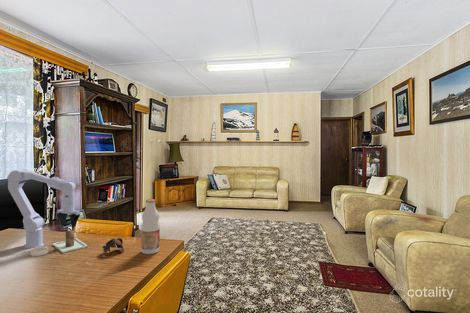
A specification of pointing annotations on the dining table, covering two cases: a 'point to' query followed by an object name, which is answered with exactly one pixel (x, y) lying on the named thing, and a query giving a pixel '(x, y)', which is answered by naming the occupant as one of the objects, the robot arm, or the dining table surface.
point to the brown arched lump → (112, 244)
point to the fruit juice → (150, 229)
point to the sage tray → (63, 249)
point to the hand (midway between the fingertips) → (68, 226)
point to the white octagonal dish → (39, 251)
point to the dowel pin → (69, 238)
